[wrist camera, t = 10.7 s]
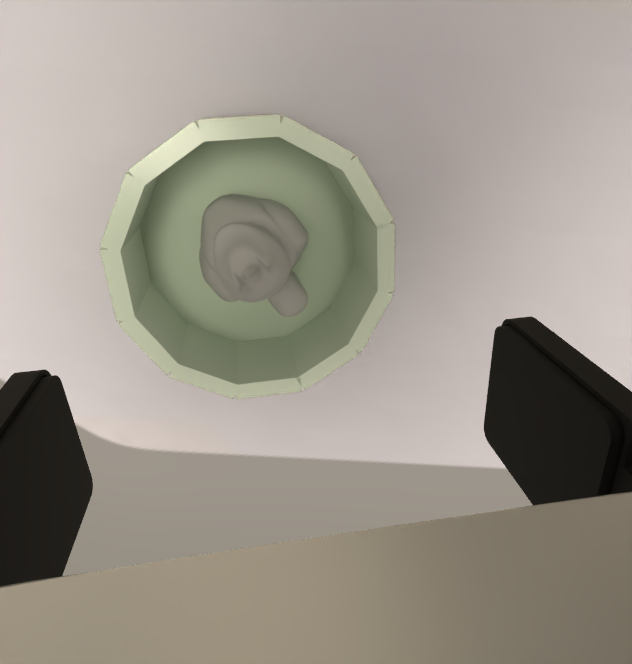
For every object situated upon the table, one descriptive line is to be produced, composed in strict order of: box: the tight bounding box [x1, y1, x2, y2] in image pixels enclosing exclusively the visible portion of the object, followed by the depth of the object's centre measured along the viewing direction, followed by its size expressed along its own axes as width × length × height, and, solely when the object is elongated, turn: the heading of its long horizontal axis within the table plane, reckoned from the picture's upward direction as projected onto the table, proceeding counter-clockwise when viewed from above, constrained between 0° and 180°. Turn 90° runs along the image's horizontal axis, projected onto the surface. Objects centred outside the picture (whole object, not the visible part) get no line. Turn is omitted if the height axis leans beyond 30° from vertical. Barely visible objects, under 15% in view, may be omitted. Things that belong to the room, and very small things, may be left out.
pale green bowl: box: [100, 114, 395, 399], centre depth 25 cm, size 13×13×6 cm
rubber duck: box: [199, 194, 308, 317], centre depth 23 cm, size 5×7×8 cm
